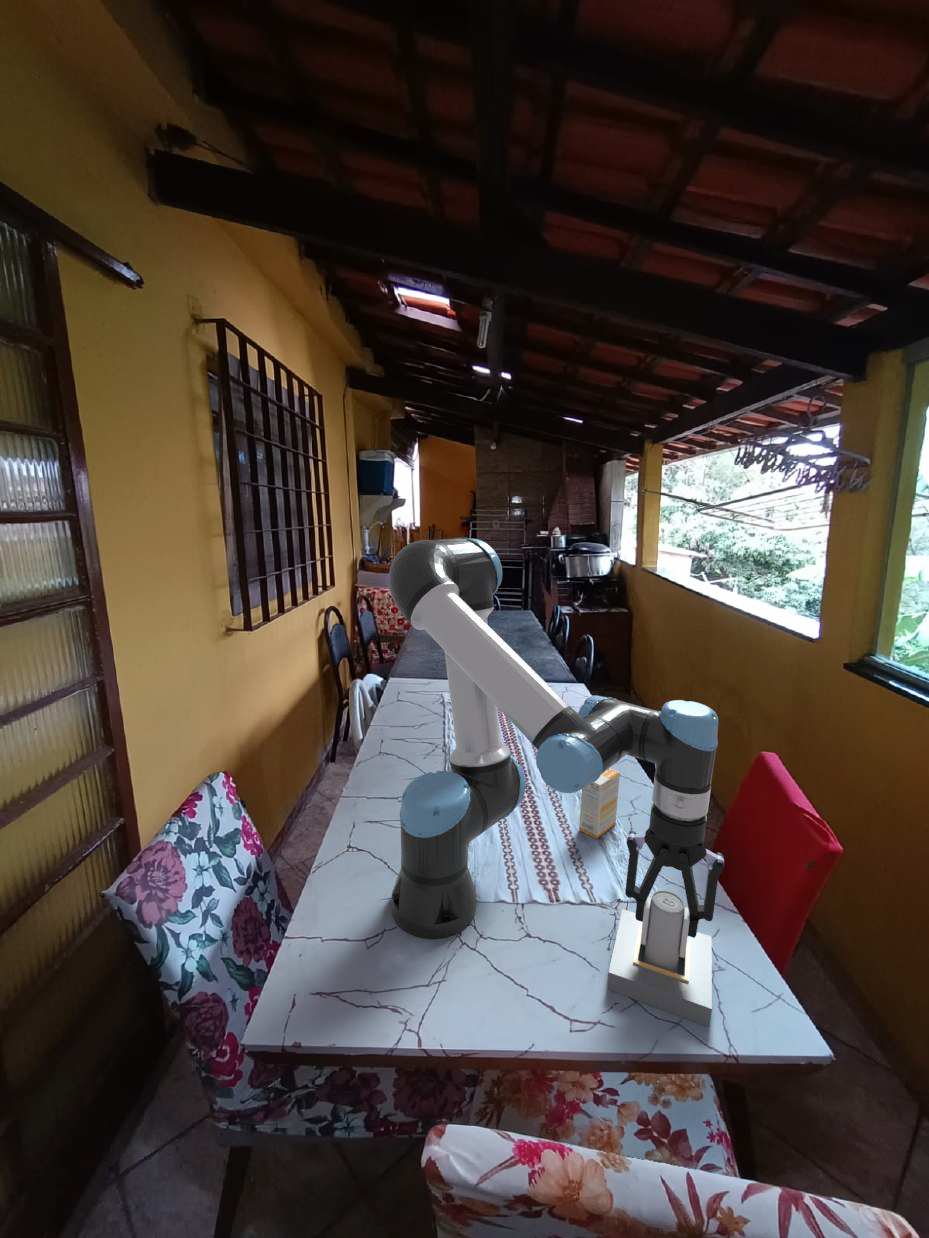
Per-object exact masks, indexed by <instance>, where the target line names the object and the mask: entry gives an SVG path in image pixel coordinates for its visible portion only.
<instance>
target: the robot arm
mask: <svg viewBox="0 0 929 1238" xmlns="http://www.w3.org/2000/svg"><path fill="white" fill-rule="evenodd" d="M502 581H503V567H502V564H501V560H500V557H499V556H498V554H497V553H496V551H495V550H494V549H493V547H491V546H490V545H489V544H488V543H487V542H485V541H483V540H481V539H478V538H469V537H456V538H455V537H454V538H443V539H431V540H430V539H422V540H416V541H413V542H411V543H409V544H408V545H406V546H404V547H402V549H401V550H400V551H398V553H396V555H395V557H394V558H393V559H392V562H391V565H390V567H389V572H388V588H389V592H390V595H391V597H392V601H393V603H394V605H395V606H396V608H397V610H398V611H399V612H400V614H401V615H402V616H403V617H404V618H405V620H406V621H407V622H408V623H409V624H410V625H411V626H412V627H413V628H414V629H415V630H417V631H424V630H425V631H426V632H427V634H428V635H429V636H430V637H431V638H432V639H433V640H434V641H435V642H436V643H437V644H438V646H439V647H441V648H442V649H443V651H444V658H445V667H446V675H447V682H448V691H449V698H450V707H451V708H450V709H451V716H452V722H453V723H452V724H453V725H452V726H453V731H454V739H455V740H454V741H455V748H454V750H452V752H451V753H450V755H449V765H450V766H449V767H450V771H449V770H436V772H435V773H433V772H432V771H429V772H426V773H424V774H422V775H418V776H417V777H416V778H414V779H413V780H411V781H410V782H409V783H408V784H407V786H406V787H405V788H404V790H403V793H402V795H401V796H402V797H401V806H400V811H399V818H400V819H399V820H400V850H401V853H400V856H401V857H400V861H401V863H400V869H399V872H398V875H397V878H396V880H395V883H394V886H393V888H392V892H391V900H390V901H391V914H392V918H393V919H394V921H395V923H396V924H397V925H398V926H399V928H401V929H402V930H403V931H405V932H407V933H409V934H410V935H413V936H416V937H419V938H422V939H423V938H424V939H441V938H442V939H443V938H446V937H450V936H453V935H455V934H457V933H459V932H461V931H463V930H464V929H466V927H468V925H469V924H471V922H472V920H474V917H475V915H476V912H477V890H476V888H475V885H474V881H473V878H472V875H471V872H470V869H469V867H468V866H469V864H468V861H469V860H468V859H469V845H470V843H471V842H472V841H473V840H475V839H476V838H477V837H479V836H480V835H482V834H483V833H485V831H487V830H488V829H490V828H491V827H493V826H495V825H496V824H497V823H498V822H499V821H502V820H503V819H506V818H507V817H508V816H510V815H511V814H512V813H513V811H514V810H515V809H516V808H518V806H519V805H520V804H521V803H522V801H523V798H524V797H525V792H526V777H525V773H524V770H523V768H522V766H521V765H518V760H517V759H516V758H515V756H513V755H512V754H511V750H510V748H509V747H508V746H507V745H506V744H504V742H502V739H501V731H500V723H499V714H498V709H499V710H500V712H502V713H503V714H504V715H505V717H506V718H507V719H509V721H510V722H511V723H512V724H513V725H514V726H515V728H517V730H518V731H519V732H520V733H521V734H522V735H523V736H525V738H526V739H527V740H528V741H529V742H530V744H532V745H533V747H534V748H535V749H536V750H537V751H536V755H535V761H536V762H535V763H536V768H537V769H538V771H539V774H540V777H541V780H543V781H544V783H545V784H546V785H547V786H548V787H549V788H551V789H553V790H554V791H557V792H559V793H562V794H574V793H577V792H579V791H582V788H584V787H586V786H587V785H589V784H591V783H592V782H595V781H596V780H597V779H598V778H599V777H600V775H601V774H603V773H604V772H605V771H606V770H607V769H609V768H611V767H612V766H614V765H616V764H617V763H618V762H620V760H621V759H623V758H624V757H625V756H629V757H632V758H636V759H638V760H642V761H645V762H650V763H653V764H654V765H655V770H654V779H653V789H652V803H651V809H650V818H649V826H648V828H647V829H646V831H645V832H644V833H637V832H636V831H634V830H630V831H629V832H628V835H627V837H626V838H627V839H626V846H627V849H628V853H629V855H628V864H627V875H626V882H625V890H624V891H625V893H624V894H625V896H626V897H627V898H629V899H631V898H632V899H633V900H634V901H635V902H636V907H635V908H636V909H635V913H636V915H635V917H636V920H638V921H641V922H643V924H642V933H641V942H640V944H643V945H646V938H647V930H648V921H649V912H650V903H651V899H652V897H651V896H649V895H650V893H651V891H652V889H653V887H654V885H655V883H656V881H657V878H658V876H659V873H660V872H661V871H662V869H663V867H666V868H672V869H673V868H674V869H675V870H676V871H681V875H682V879H683V885H684V890H685V897H686V902H687V907H686V906H684V910H685V912H684V920H683V928H682V935H681V943H680V957H683V958H685V953H686V945H687V938H688V936H690V937H693V938H695V937H696V934H697V932H698V926H699V921H700V920H704V921H706V922H712V921H713V919H714V913H715V912H714V911H715V905H716V904H715V903H716V897H717V896H716V895H717V889H718V888H717V887H718V882H719V880H718V879H719V877H720V875H721V874H722V873H723V871H724V869H725V858H724V857H725V856H724V854H723V853H721V852H716V853H714V852H712V851H711V850H709V849H707V845H706V843H705V837H706V830H707V829H706V828H707V827H706V826H707V821H708V817H707V815H708V812H709V804H710V799H711V790H712V779H713V772H714V767H715V759H716V754H717V748H718V745H719V741H718V729H719V717H718V714H717V713H716V711H714V710H713V709H712V708H711V707H709V706H707V705H706V704H704V703H703V704H702V703H700V702H696V701H691V700H689V701H686V700H683V699H676V700H675V699H674V700H670V701H666V702H665V703H664V704H663V706H662V707H661V710H655V709H651V708H647V707H644V706H640V705H636V704H633V703H630V702H626V701H622V700H619V699H617V698H613V697H612V696H611V697H609V696H608V697H607V696H601V695H590V696H589V697H586V699H585V700H584V702H583V704H582V705H581V706H580V707H579V710H578V712H577V711H576V710H574V708H573V707H572V706H570V705H569V704H568V702H567V701H566V700H564V699H563V697H561V696H560V695H559V694H558V693H557V691H555V690H554V688H552V686H550V685H549V684H548V683H547V682H546V681H545V679H543V678H542V677H541V676H540V675H539V674H538V673H537V672H536V671H535V670H534V669H533V668H532V667H531V665H529V664H528V663H527V662H526V661H525V660H524V659H523V658H522V657H521V656H520V655H519V653H517V652H516V651H515V650H514V649H513V648H512V647H511V646H510V645H509V644H508V643H507V642H506V641H505V640H504V639H503V638H502V637H500V635H499V634H498V633H497V632H495V630H494V629H493V628H491V626H489V624H488V617H489V616H490V614H491V613H492V612H493V611H494V609H495V606H494V596H493V595H495V594H496V593H497V592H498V589H499V586H501V583H502ZM644 844H646V846H647V847H648V849H649V850H650V852H651V854H652V855H653V857H652V860H651V862H650V864H649V867H648V868H647V871H646V873H645V875H644V878H643V880H642V882H641V884H640V886H639V887H638V885H636V882H637V873H638V863H639V856H640V851H641V850H642V849H643V846H644ZM703 859H704V860H705V866H706V867H707V868H708V869H707V876H706V877H707V878H706V886H705V892H704V893H705V894H704V903H703V904H699V898H698V893H697V887H696V882H695V876H694V875H695V874H694V871H693V866H695V865H696V864H698V863H699V862H701V861H702V860H703Z"/></svg>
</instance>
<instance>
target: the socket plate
mask: <svg viewBox="0 0 929 1238" xmlns="http://www.w3.org/2000/svg"><path fill="white" fill-rule="evenodd" d="M635 915H636V912H633V911H630V910H628V909H627V910H626V909H623V908H622V909H621V912H620V918H619V922H618V927H617V930H616V931H617V932H616V937H615V941H614V946H613V950H612V955H611V960H610V963H609V968H608V974H607V976H608V977H607V986H606V990H609V991H611V992H614V993H617V994H619V995H622V996H624V997H627V998H630V999H633V1000H637V1001H639V1002H641V1003H644V1004H645V1005H649V1006H652V1007H655V1008H658V1009H661V1010H662V1011H665V1012H668V1013H671V1014H673V1015H676V1016H678V1017H679V1016H680V1017H682V1018H684V1019H688V1020H690V1021H693V1022H695V1023H698V1024H701V1025H703V1026H706V1027H709V1028H710V1027H711V1019H712V1012H713V960H712V959H713V957H712V956H713V950H712V949H713V947H712V946H713V945H712V941H713V940H712V939H713V938H712V937H713V936H712V935H708V934H705V933H702V932H698V931H697V934H696V937H695V938H693V937H690V936H688V938H687V945H686V953H685V958H683V957H680V951H679V959H678V961H682V962H683V970H682V971H683V973H682V974H683V975H681V974H678V973H677V972H676V973H673V972H670V971H667V970H664V969H661V968H658V967H655V966H652V965H650V964H647V963H644V961H640V959H639V958H640V955H641V948H642V949H645V948H646V945H643V944H640V942H641V933H642V924H643V922H641V921H638V920H636V917H635ZM646 939H647V938H646Z"/></svg>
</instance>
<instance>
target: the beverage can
mask: <svg viewBox="0 0 929 1238" xmlns="http://www.w3.org/2000/svg"><path fill="white" fill-rule="evenodd" d="M684 912H685V904H684V901H683V899H682V898H681V897H680V896H678V895H677V894H676V893H674V892H671V891H668V890H658V891H655V892H654V893H653V894H652V897H651V903H650V912H649V921H648V930H647V939H646V948H644V949H645V950H644V957H643V958H644V959H643V962H644V963H647V964H650V965H652V966H655V967H658V968H661V969H664V970H667V971H670V972H673V973H676V974H677V972H678V965H679V960H678V959H679V951H680V943H681V935H682V928H683V920H684Z"/></svg>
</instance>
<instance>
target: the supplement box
mask: <svg viewBox="0 0 929 1238" xmlns="http://www.w3.org/2000/svg"><path fill="white" fill-rule="evenodd" d="M620 774H621V772H620V771H619V770H615V769H613V768H611V767H610V768H609V769H607V770H606V771H605V772H604V773H603V774H601V775H600V777H599V778H598V779H597V780H596V781H595V782H592V783H591V784H589V785H587V786H586V787H584V788H582V789H581V796H580V812H579V826H578V830H579V831H580V832H583V833H584V834H586V835H588V836H590V837H593V838H594V839H599V838H600V837H602V835H604V834H605V833H606V832H607V831H609V830H610V829H611V828H613V827H614V826H615V825H616V822H617V810H618V802H619V801H618V800H619V788H620V787H619V786H620V776H621V775H620Z"/></svg>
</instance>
